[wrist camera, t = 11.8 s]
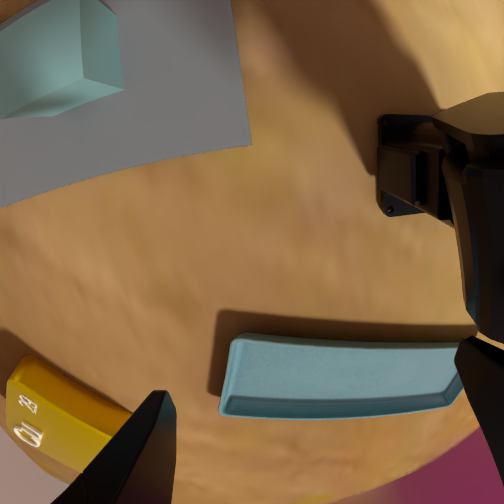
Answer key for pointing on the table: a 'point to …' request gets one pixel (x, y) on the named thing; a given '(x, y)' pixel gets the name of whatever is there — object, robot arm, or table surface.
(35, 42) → the teal cube
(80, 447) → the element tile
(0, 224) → the table surface
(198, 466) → the table surface
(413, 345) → the teal serving tray
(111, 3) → the slate mat
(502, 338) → the robot arm
